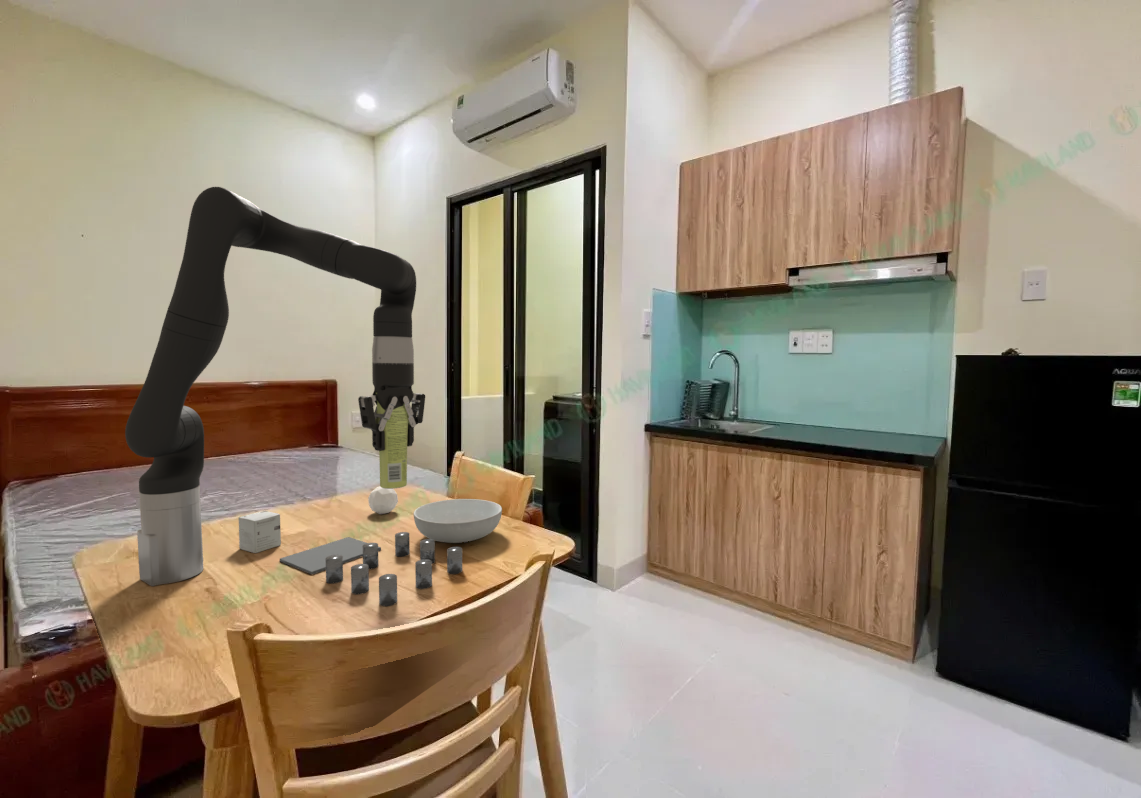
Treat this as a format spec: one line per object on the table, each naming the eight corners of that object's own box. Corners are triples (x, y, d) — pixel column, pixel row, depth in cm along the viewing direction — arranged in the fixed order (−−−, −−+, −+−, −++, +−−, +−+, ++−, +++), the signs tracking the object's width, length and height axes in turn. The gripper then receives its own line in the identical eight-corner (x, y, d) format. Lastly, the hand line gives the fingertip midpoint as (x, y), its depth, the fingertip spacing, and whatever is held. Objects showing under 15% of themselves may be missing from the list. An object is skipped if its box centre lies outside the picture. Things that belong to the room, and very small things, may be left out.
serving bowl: (517, 530, 128) (518, 503, 128) (467, 559, 109) (467, 528, 109) (451, 518, 137) (451, 493, 136) (394, 544, 118) (393, 515, 117)
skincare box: (255, 554, 111) (253, 521, 110) (238, 549, 114) (237, 516, 113) (281, 545, 116) (280, 513, 116) (265, 540, 119) (264, 509, 119)
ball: (377, 521, 142) (371, 495, 146) (405, 510, 143) (398, 485, 147) (367, 515, 135) (360, 488, 139) (396, 504, 137) (388, 477, 140)
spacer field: (386, 607, 87) (386, 582, 87) (322, 581, 98) (322, 558, 97) (465, 570, 103) (465, 548, 103) (403, 550, 114) (403, 531, 113)
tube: (384, 482, 102) (383, 385, 100) (410, 482, 102) (409, 385, 101) (376, 490, 96) (375, 387, 95) (404, 489, 97) (403, 387, 95)
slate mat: (312, 574, 100) (311, 571, 100) (279, 561, 107) (279, 558, 107) (381, 549, 114) (381, 547, 114) (348, 539, 120) (348, 536, 120)
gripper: (373, 361, 89) (374, 455, 90) (435, 361, 101) (435, 445, 103) (347, 360, 93) (348, 451, 94) (410, 361, 105) (410, 441, 107)
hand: (394, 447), depth 99 cm, fingers closed on tube, 6 cm apart
